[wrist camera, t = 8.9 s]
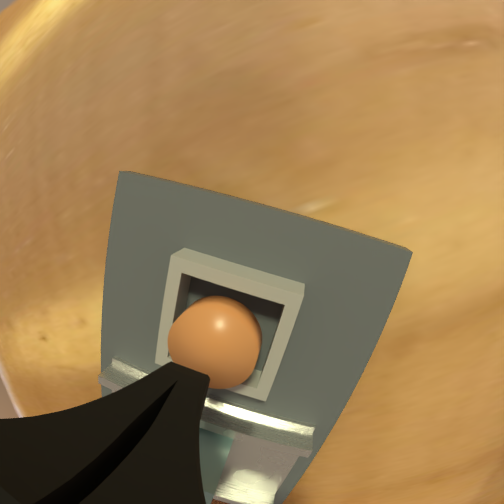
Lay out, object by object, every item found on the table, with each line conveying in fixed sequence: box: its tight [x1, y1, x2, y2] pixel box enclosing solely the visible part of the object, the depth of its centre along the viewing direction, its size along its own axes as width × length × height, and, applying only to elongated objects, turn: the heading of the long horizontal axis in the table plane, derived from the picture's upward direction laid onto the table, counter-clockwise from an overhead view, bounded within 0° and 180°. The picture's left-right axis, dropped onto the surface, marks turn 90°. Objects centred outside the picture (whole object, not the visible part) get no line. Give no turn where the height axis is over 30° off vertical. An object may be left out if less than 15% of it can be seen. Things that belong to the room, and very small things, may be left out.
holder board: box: [101, 171, 413, 504], centre depth 16 cm, size 20×14×1 cm
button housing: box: [155, 248, 305, 401], centre depth 14 cm, size 6×6×2 cm
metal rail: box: [98, 356, 316, 504], centre depth 16 cm, size 8×12×2 cm
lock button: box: [168, 296, 262, 389], centre depth 13 cm, size 4×4×2 cm
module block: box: [199, 428, 233, 504], centre depth 14 cm, size 5×4×5 cm
